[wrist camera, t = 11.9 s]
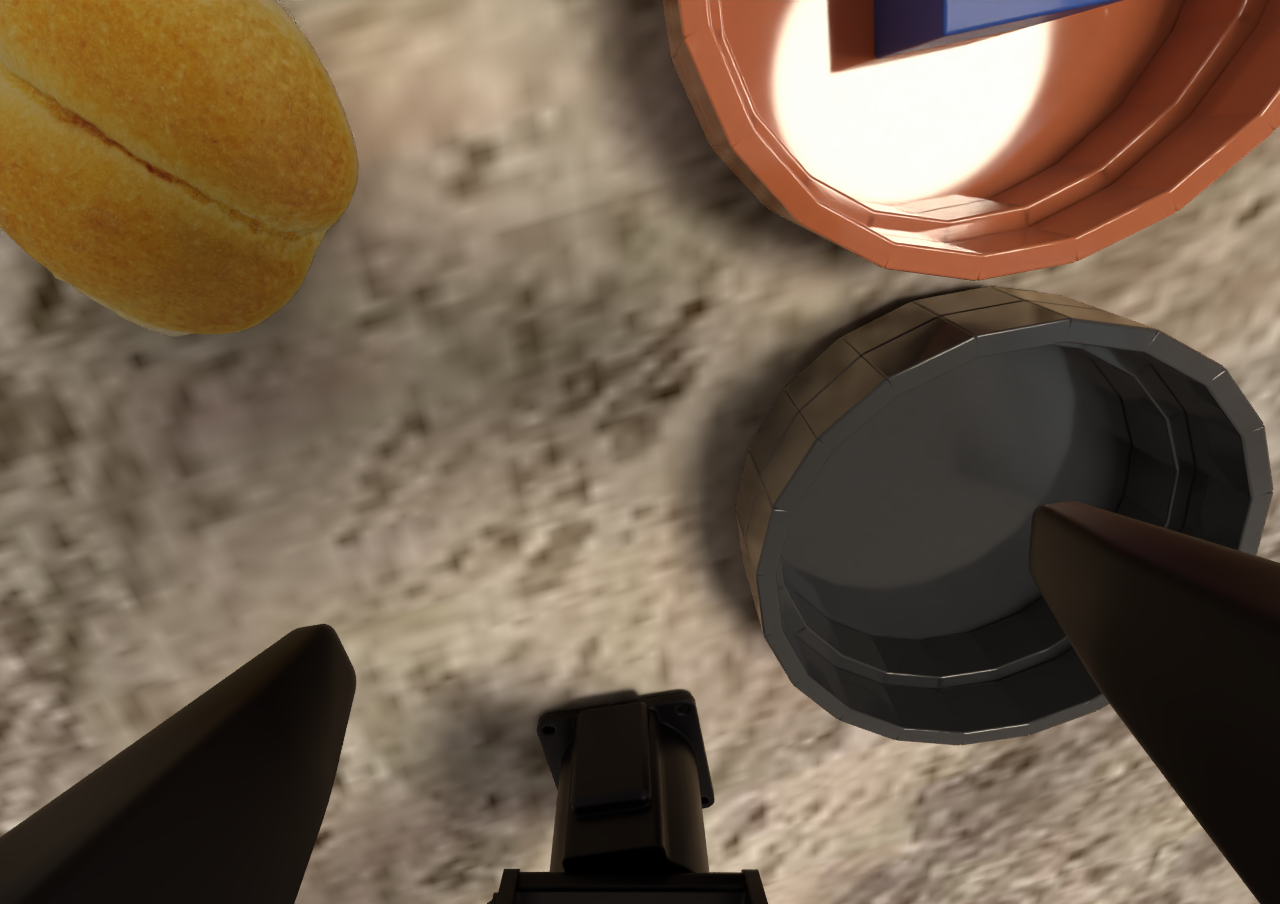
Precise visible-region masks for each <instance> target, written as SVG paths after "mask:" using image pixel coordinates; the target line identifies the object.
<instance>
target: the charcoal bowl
mask: <svg viewBox="0 0 1280 904" xmlns="http://www.w3.org/2000/svg"><path fill="white" fill-rule="evenodd" d="M749 448H750V449H749V450H748V453H747V457H746V462H745V466H744V471H743V475H742V480H741V484H740V489H739V493H738V498H737V502H736V510H735V511H736V518H737V525H738V532H739V539H740V546H741V553H742V560H743V564H744V568H745V571H746V575H747V578H748V582H749V585H750V589H751V592H752V596H753V600H754V603H755V607H756V611H757V614H758V618H759V621H760V625H761V628H762V632H763V635H764V638H765V639H766V641H767V643H768V644H769V646H770V648H771V649H772V651H773V653H774V654H775V656H776V658H777V659H778V661H779V663H780V664H781V666H782V668H783V669H784V671H785V673H786V675H787V676H788V678H789V680H790V681H791V683H792V684H793V685H794V686H795V687H796V688H797V689H799V690H800V691H801V692H803V693H804V694H805V695H807V696H808V697H809V698H810V699H812V700H813V701H814V702H816V703H817V704H818V705H819V706H821V707H822V708H823V709H825V710H826V711H827V712H829V713H830V714H831V715H832V716H834V717H835V718H836V719H839V720H840V721H842V722H845V723H848V724H851V725H854V726H856V727H859V728H862V729H865V730H868V731H871V732H873V733H876V734H879V735H882V736H885V737H888V738H890V739H893V740H898V741H910V742H923V743H936V744H948V745H960V744H961V745H967V744H974V743H981V742H988V741H994V740H1001V739H1008V738H1015V737H1022V736H1028V735H1029V734H1030V735H1032V734H1035V733H1037V732H1040V731H1043V730H1046V729H1048V728H1051V727H1054V726H1057V725H1060V724H1062V723H1065V722H1068V721H1071V720H1073V719H1076V718H1079V717H1082V716H1084V715H1087V714H1090V713H1093V712H1096V711H1097V710H1100V709H1102V708H1103V707H1105V706H1107V705H1108V704H1110V703H1109V702H1108V701H1107V699H1106V698H1105V696H1104V695H1103V694H1102V692H1101V691H1100V689H1099V688H1098V687H1097V685H1096V683H1095V682H1094V680H1093V679H1092V677H1091V676H1090V674H1089V673H1088V671H1087V669H1086V668H1085V666H1084V664H1083V663H1082V661H1081V659H1080V658H1079V656H1078V654H1077V653H1076V651H1075V649H1074V648H1073V646H1072V644H1071V643H1070V641H1069V639H1068V638H1067V636H1066V634H1065V633H1064V631H1063V629H1062V628H1061V626H1060V624H1059V623H1058V621H1057V619H1056V618H1055V616H1054V614H1053V613H1052V611H1051V609H1050V608H1049V606H1048V604H1047V603H1046V601H1045V599H1044V598H1043V596H1042V594H1041V593H1040V591H1039V589H1038V588H1037V586H1036V584H1035V583H1034V581H1033V579H1032V576H1031V574H1030V570H1029V564H1028V558H1029V546H1030V534H1031V523H1032V516H1033V513H1034V511H1035V509H1036V508H1037V507H1039V506H1040V505H1045V504H1051V503H1057V502H1063V501H1077V502H1080V503H1084V504H1087V505H1090V506H1094V507H1097V508H1100V509H1103V510H1107V511H1110V512H1113V513H1117V514H1120V515H1123V516H1126V517H1130V518H1133V519H1136V520H1140V521H1143V522H1146V523H1150V524H1153V525H1156V526H1159V527H1163V528H1166V529H1169V530H1173V531H1176V532H1179V533H1182V534H1186V535H1189V536H1192V537H1196V538H1199V539H1202V540H1205V541H1209V542H1212V543H1215V544H1219V545H1222V546H1225V547H1228V548H1232V549H1235V550H1238V551H1242V552H1245V553H1248V554H1251V555H1255V556H1256V555H1257V552H1258V548H1259V544H1260V540H1261V537H1262V533H1263V529H1264V525H1265V522H1266V518H1267V514H1268V510H1269V506H1270V503H1271V499H1272V495H1273V492H1272V491H1273V483H1272V476H1271V469H1270V462H1269V454H1268V447H1267V440H1266V432H1265V426H1264V425H1263V422H1262V420H1261V419H1260V417H1259V416H1258V415H1257V413H1256V412H1255V410H1254V409H1253V407H1252V406H1251V404H1250V403H1249V401H1248V400H1247V399H1246V397H1245V396H1244V394H1243V393H1242V391H1241V390H1240V388H1239V387H1238V385H1237V384H1236V383H1235V381H1234V380H1233V378H1232V377H1231V375H1230V374H1229V372H1228V371H1227V369H1226V368H1224V367H1223V366H1222V365H1221V364H1219V363H1217V362H1215V361H1214V360H1212V359H1210V358H1208V357H1207V356H1205V355H1203V354H1201V353H1199V352H1198V351H1196V350H1194V349H1192V348H1191V347H1189V346H1187V345H1185V344H1183V343H1182V342H1180V341H1178V340H1176V339H1175V338H1173V337H1171V336H1169V335H1167V334H1166V333H1164V332H1162V331H1160V330H1158V329H1155V328H1152V327H1149V326H1147V325H1144V324H1141V323H1138V322H1135V321H1132V320H1130V319H1127V318H1124V317H1121V316H1118V315H1115V314H1113V313H1110V312H1107V311H1104V310H1101V309H1098V308H1095V307H1093V306H1090V305H1087V304H1084V303H1081V302H1078V301H1076V300H1073V299H1070V298H1067V297H1064V296H1061V295H1054V294H1046V293H1039V292H1031V291H1024V290H1016V289H1009V288H1001V287H994V286H993V287H983V288H978V289H972V290H967V291H962V292H956V293H951V294H946V295H940V296H935V297H930V298H924V299H919V300H915V301H913V302H909V303H907V304H905V305H903V306H901V307H899V308H897V309H895V310H893V311H891V312H889V313H887V314H885V315H883V316H881V317H879V318H877V319H875V320H873V321H871V322H869V323H867V324H865V325H863V326H862V327H860V328H858V329H856V330H854V331H852V332H850V333H848V334H846V335H844V336H842V338H841V337H840V338H838V339H837V340H836V341H835V342H834V343H833V344H832V345H831V346H830V347H829V348H828V349H826V350H825V351H824V352H823V353H822V354H821V355H820V356H819V357H818V358H817V359H816V360H814V361H813V362H812V363H811V364H810V365H809V366H808V367H807V368H806V369H805V370H804V371H802V372H801V373H800V374H799V375H798V376H797V377H796V378H795V379H794V380H793V381H792V382H790V383H789V384H788V385H787V386H786V387H785V390H783V391H782V393H781V395H780V396H779V398H778V400H777V401H776V403H775V405H774V407H773V408H772V410H771V412H770V413H769V415H768V417H767V418H766V420H765V422H764V423H763V425H762V427H761V428H760V430H759V432H758V433H757V435H756V437H755V438H754V440H753V442H752V443H751V445H750V447H749Z"/></svg>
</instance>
